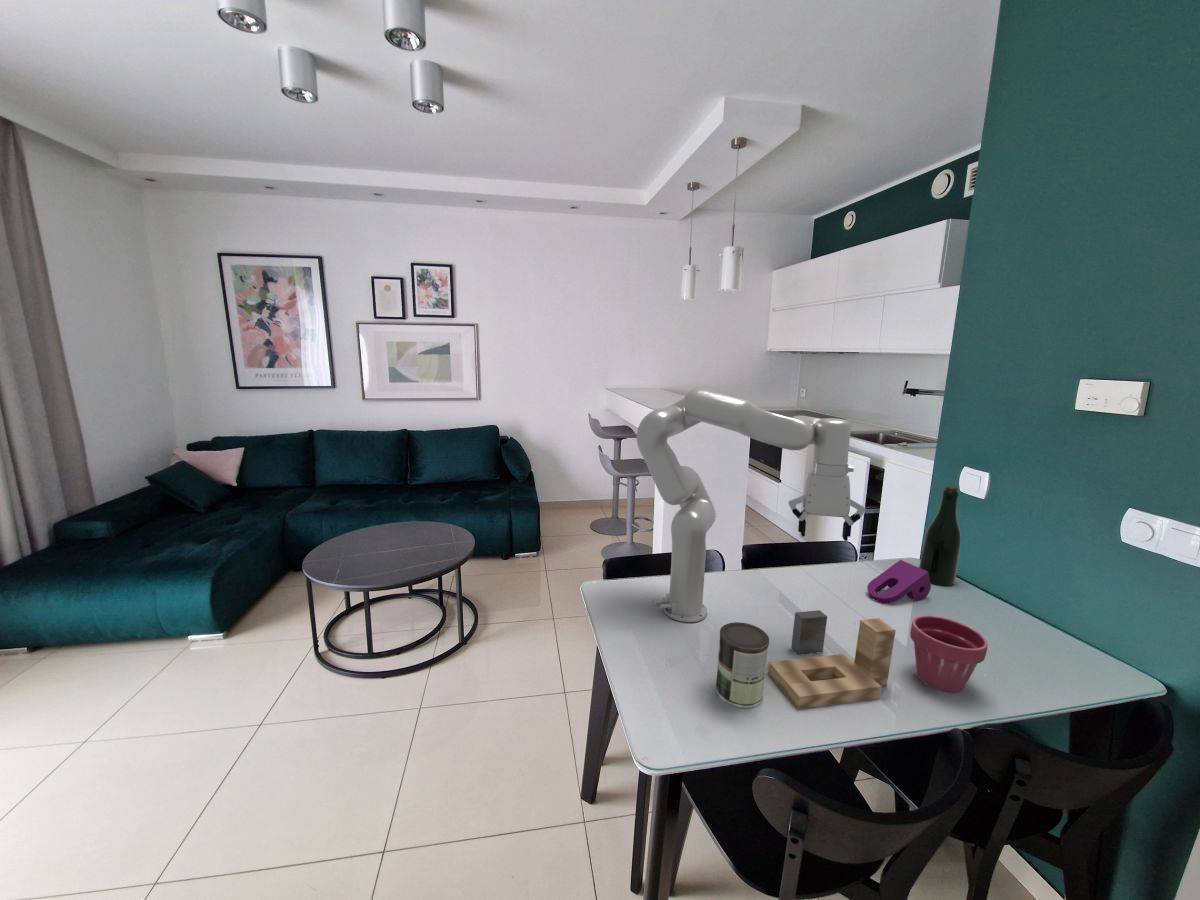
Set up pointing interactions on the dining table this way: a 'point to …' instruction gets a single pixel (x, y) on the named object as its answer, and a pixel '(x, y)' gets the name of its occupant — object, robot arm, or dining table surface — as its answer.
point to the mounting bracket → (900, 583)
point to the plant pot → (946, 652)
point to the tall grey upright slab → (809, 632)
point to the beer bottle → (943, 542)
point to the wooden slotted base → (839, 671)
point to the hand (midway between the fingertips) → (823, 536)
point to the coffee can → (741, 664)
